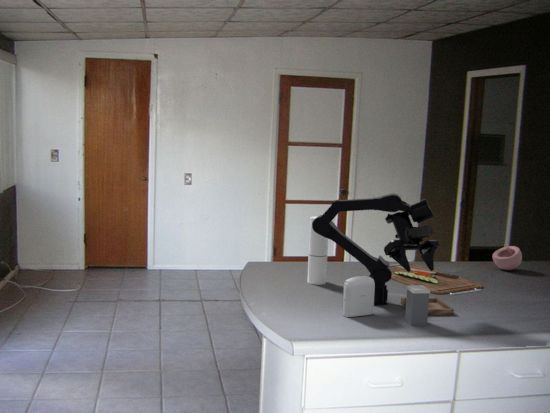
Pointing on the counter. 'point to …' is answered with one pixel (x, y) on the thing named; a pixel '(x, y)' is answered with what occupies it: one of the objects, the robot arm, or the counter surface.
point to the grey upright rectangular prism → (417, 305)
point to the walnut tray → (435, 307)
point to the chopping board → (433, 280)
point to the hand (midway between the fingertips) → (421, 271)
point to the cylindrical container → (317, 257)
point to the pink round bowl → (507, 257)
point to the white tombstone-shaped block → (358, 296)
